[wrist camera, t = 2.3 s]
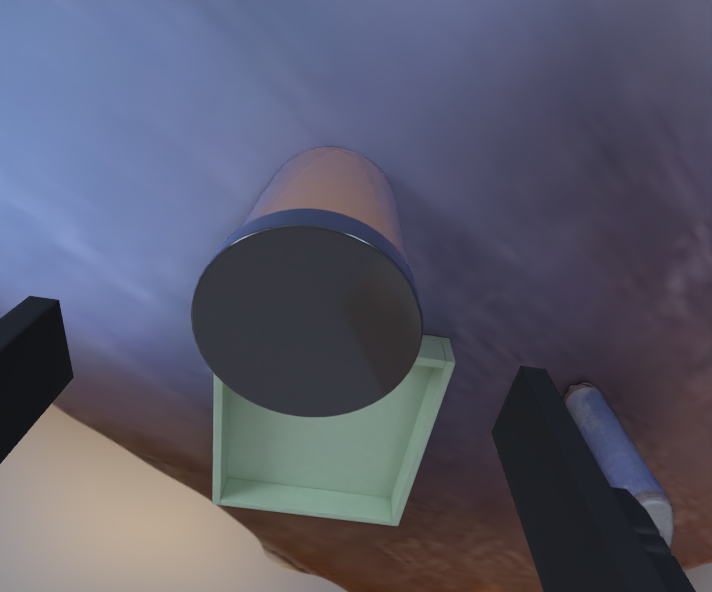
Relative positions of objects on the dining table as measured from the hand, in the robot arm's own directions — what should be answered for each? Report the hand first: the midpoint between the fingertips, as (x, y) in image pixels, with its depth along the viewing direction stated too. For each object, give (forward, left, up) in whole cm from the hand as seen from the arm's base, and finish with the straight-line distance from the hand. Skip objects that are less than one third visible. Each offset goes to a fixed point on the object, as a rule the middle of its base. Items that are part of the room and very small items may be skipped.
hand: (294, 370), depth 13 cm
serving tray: (-2, +15, -13) cm, 20 cm away
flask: (-20, +13, -14) cm, 28 cm away
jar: (0, 0, -13) cm, 13 cm away
